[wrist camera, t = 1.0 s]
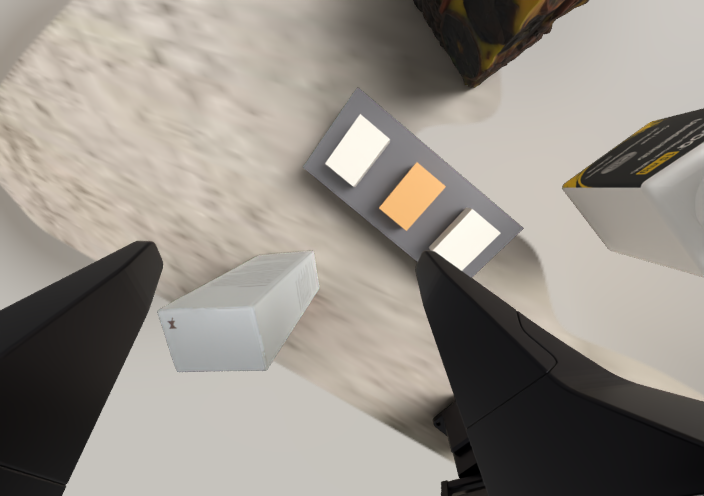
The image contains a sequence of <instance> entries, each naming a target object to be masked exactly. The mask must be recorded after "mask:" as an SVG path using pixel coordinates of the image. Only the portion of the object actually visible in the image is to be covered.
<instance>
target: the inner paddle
mask: <svg viewBox="0 0 704 496" xmlns="http://www.w3.org/2000/svg"><path fill="white" fill-rule="evenodd" d="M499 234H500V232H499V231H498V230H497V229H496V228H494V227H493V226H492V225H491V224H490V223H488V222H487V221H486V220H485V219H484V218H483V217H481V216H480V215H479V214H478V213H477V212H475V211H474V210H473V209H471V208H467V207H466V208H465V209H464V211H463V212H462V213H461V214H460V215H459V216H458V217H457V218H456V219H455V220H454V221H453V222H452V223H451V224H450V225H449V226H448V227H447V229H446V230H445V231H444V232H443V233H442V234H441V235H440V236H439V237H438V238H437V239H436V240H435V241H434V242H433V243H432V244H431V245H430V246H429V249H430V250H431V251H435V252H436V253H438V254H439V255H440V256H442V257H443V258H445V259H446V260H447V261H449V262H450V263H452V264H453V265H454V266H456V267H457V268H459V269H460V270H461V271H462V270H463V269H464V268H465V267H466V266H467V265H468V264H469V263H470V262H472V261H473V260H474V259H475V258H476V257H477V256H478V255H479V254H480V253H481V252H482V251H483V250H484V249H485V248H486V247H487V246H488V245H489V244H490V243H491V242H492V241H493V240H494V239H495V238H496V237H497V236H498V235H499Z"/></svg>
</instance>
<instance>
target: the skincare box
mask: <svg viewBox="0 0 704 496" xmlns="http://www.w3.org/2000/svg"><path fill="white" fill-rule="evenodd" d="M318 290H319V281H318V275H317V269H316V262H315V255H314V251H313V250H312V251H300V252H288V253H276V254H265V255H258V256H256V257H254V258H252V259H251V260H249V261H247V262H245V263H243V264H241V265H240V266H238V267H236V268H234V269H232V270H230V271H229V272H227V273H225V274H223V275H221V276H219V277H218V278H216V279H214V280H212V281H210V282H208V283H206V284H205V285H203V286H201V287H199V288H197V289H195V290H194V291H192V292H190V293H188V294H186V295H184V296H182V297H180V298H178V299H177V300H175V301H173V302H171V303H169V304H168V305H166V306H164V307H162V308H161V309H159V310H158V312H157V313H158V316H159V319H160V322H161V325H162V328H163V331H164V334H165V337H166V341H167V344H168V347H169V350H170V354H171V357H172V360H173V363H174V365H175V368H176V370H177V372H198V371H199V372H204V371H265V370H267V369H268V367H269V366H270V364H271V363H272V361H273V360H274V358H275V357H276V355H277V353H278V352H279V350H280V349H281V347H282V346H283V344H284V343H285V341H286V340H287V338H288V336H289V335H290V333H291V332H292V330H293V329H294V327H295V326H296V324H297V322H298V321H299V319H300V318H301V316H302V315H303V313H304V312H305V310H306V309H307V307H308V306H309V304H310V302H311V301H312V299H313V298H314V296H315V295H316V293H317V292H318Z"/></svg>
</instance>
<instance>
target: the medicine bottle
mask: <svg viewBox="0 0 704 496" xmlns="http://www.w3.org/2000/svg"><path fill="white" fill-rule="evenodd" d="M562 189H563V190H564V192H565V193H566V194H567V196H568V197H569V198H570V200H571V201H572V202H573V204H574V205H575V206H576V208H577V209H578V210H579V211H580V213H581V214H582V215H583V217H584V218H585V219H586V221H587V222H588V223H589V225H590V226H591V227H592V228H593V230H594V231H595V232H596V234H597V235H598V236H599V238H600V239H601V240H602V242H603V243H604V244H605V245H606V246H607V248H608V249H609V250H611V251H613V252H617V253H620V254H624V255H627V256H631V257H634V258H638V259H641V260H645V261H648V262H652V263H655V264H659V265H662V266H666V267H669V268H673V269H676V270H680V271H683V272H687V273H690V274H694V275H697V276H701V277H704V109H700V110H696V111H692V112H688V113H684V114H680V115H676V116H672V117H668V118H664V119H660V120H656V121H652V122H650V123H648V124H647V125H645V126H644V127H642V128H641V129H640V130H638V131H637V132H636V133H634V134H633V135H631V136H630V137H628V138H627V139H626V140H625V141H623V142H622V143H620V144H619V145H617V146H616V147H615V148H613V149H612V150H610V151H609V152H608V153H606V154H605V155H603V156H602V157H601V158H599V159H598V160H596V161H595V162H594V163H592V164H591V165H589V166H588V167H587V168H585V169H584V170H582V171H581V172H580V173H578V174H577V175H576V176H574V177H573V178H571V179H570V180H569V181H567V182H566V183H564V184H563V186H562Z"/></svg>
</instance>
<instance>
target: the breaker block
mask: <svg viewBox="0 0 704 496" xmlns="http://www.w3.org/2000/svg"><path fill="white" fill-rule="evenodd" d="M360 114H361V115H362V116H363V117H364V118H366V119H367V120H368V121H369V122H370V123H371V124H373V125H374V126H375V127H376V128H377V129H379V130H380V131H381V132H382V133H383V134H384V135H386V136H387V137H388V138H389V139H390V143H389V144H388V146H387V147H386V148H385V150H384V151H383V152H382V153H381V155H380V156H379V157H378V159H377V160H376V161H375V163H374V164H373V165H372V166H371V168H370V169H369V170H368V172H367V173H366V174H365V175H364V177H363V178H362V179H361V181H360V182H359V183H358V185H357V186H356V187H353V186H352V185H351V184H349V183H348V182H347V181H346V180H345V179H343V178H342V177H341V176H340V175H338V174H337V173H336V172H335V171H334V170H332V169H331V168H330V167H329V166H328V165H326V164H325V163H326V162H327V160H328V159H329V157H330V156H331V154H332V153H333V152H334V150H335V149H336V147H337V146H338V145H339V143H340V142H341V140H342V139H343V138H344V136H345V135H346V133H347V132H348V130H349V129H350V128H351V126H352V125H353V123H354V122H355V121H356V119H357V118H358V116H359V115H360ZM417 162H418V163H419V164H420V165H421V166H422V167H423V168H425V169H426V170H427V171H428V172H429V173H431V174H432V175H433V176H434V177H435V178H436V179H438V180H439V181H440V182H441V183H442V184H444V185H445V186H446V187H445V188H444V189H443V191H442V192H441V193H440V194H439V195H438V196H437V197H436V198H435V200H434V201H433V202H432V203H431V204H430V205H429V206H428V207H427V208H426V210H425V211H424V212H423V213H422V214H421V215H420V216H419V217H418V219H417V220H416V221H415V222H414V223H413V224H412V225H411V226H410V228H409V229H408V230H407V231H406V230H405V229H404V228H402V227H401V226H400V225H399V224H398V223H396V222H395V221H394V220H393V219H392V218H390V217H389V216H388V215H387V214H385V213H384V212H383V211H382V210H381V209H379V207H380V206H381V204H382V203H383V202H384V201H385V200H386V198H387V197H388V196H389V195H390V193H391V192H392V191H393V190H394V189H395V187H396V186H397V185H398V184H399V183H400V181H401V180H402V179H403V178H404V177H405V175H406V174H407V173H408V172H409V170H410V169H411V168H412V167H413V166H414V164H415V163H417ZM303 168H304V169H305V170H307V171H308V172H309V173H310V174H311V175H313V176H314V177H315V178H316V179H317V180H319V181H320V182H321V183H322V184H324V185H325V186H326V187H327V188H328V189H330V190H331V191H332V192H333V193H334V194H336V195H337V196H338V197H339V198H340V199H342V200H343V201H344V202H345V203H347V204H348V205H349V206H350V207H351V208H353V209H354V210H355V211H356V212H357V213H359V214H360V215H361V216H362V217H363V218H365V219H366V220H367V221H368V222H370V223H371V224H372V225H373V226H374V227H376V228H377V229H378V230H379V231H380V232H382V233H383V234H384V235H385V236H387V237H388V238H389V239H390V240H391V241H393V242H394V243H395V244H396V245H397V246H399V247H400V248H401V249H402V250H403V251H405V252H406V253H407V254H408V255H410V256H411V257H412V258H413V259H414V260H416V261H417V262H418V260H419V258H420V256H421V254H422V252H423V251H431V250H430V249H429V246H430V245H431V244H432V243H433V242H434V241H435V240H436V239H437V238H438V237H439V236H440V235H441V234H442V233H443V232H444V231H445V230H446V229H447V227H448V226H449V225H450V224H451V223H452V222H453V221H454V220H455V219H456V218H457V217H458V216H459V215H460V214H461V213H462V212H463V211H464V209H465V208H466V207H467V208H471V209H473V210H474V211H475V212H477V213H478V214H479V215H480V216H481V217H483V218H484V219H485V220H486V221H487V222H488V223H490V224H491V225H492V226H493V227H494V228H496V229H497V230H498V231H499V232H500V234H499V235H498V236H497V237H496V238H495V239H494V240H493V241H492V242H491V243H490V244H489V245H488V246H487V247H486V248H485V249H484V250H483V251H482V252H481V253H480V254H479V255H478V256H477V257H476V258H475V259H474V260H473V261H472V262H470V263H469V264H468V265H467V266H466V267H465V268H464V269H463V270H462V271H463V272H464V273H466V274H467V275H468V276H470V277H471V278H472V277H473V276H474V275H475V274H476V273H477V272H478V271H479V270H480V269H481V268H482V267H483V266H485V265H486V264H487V263H488V262H489V261H490V260H491V259H492V258H493V257H494V256H495V255H496V254H497V253H498V252H499V251H500V250H501V249H503V248H504V247H505V246H506V245H507V244H508V243H509V242H510V241H511V240H512V239H513V238H514V237H515V236H516V235H517V234H518V233H519V232H520V231H522V230H523V227H522V226H520V225H519V224H518V223H517V222H516V221H515V220H514V219H512V218H511V217H510V216H509V215H508V214H506V213H505V212H504V211H503V210H502V209H501V208H499V207H498V206H497V205H496V204H495V203H494V202H492V201H491V200H490V199H489V198H487V196H485V195H484V194H483V193H482V192H481V191H479V190H478V189H477V188H476V187H475V186H474V185H472V184H471V183H470V182H469V181H468V180H467V179H465V178H464V177H463V176H462V175H461V174H459V173H458V172H457V171H456V170H455V169H453V168H452V167H451V166H450V165H449V164H448V163H447V162H445V161H444V160H443V159H442V158H441V157H439V156H438V155H437V154H436V153H435V152H434V151H432V150H431V149H430V148H429V147H427V145H425V144H424V143H423V142H422V141H421V140H419V139H418V138H417V137H416V136H415V135H414V134H413V133H411V132H410V131H409V130H408V129H407V128H405V127H404V126H403V125H402V124H401V123H400V122H398V121H397V120H396V119H395V118H394V117H393V116H391V115H390V114H389V113H388V112H387V111H385V110H384V109H383V108H382V107H381V106H380V105H378V104H377V103H376V102H375V101H374V100H373V99H371V98H370V97H369V96H368V95H367V94H366V93H364V92H363V91H362V90H361V89H360V88H358V87H357V88H356V90H355V91H354V93H353V94H352V96H351V97H350V99H349V100H348V101H347V103H346V104H345V106H344V107H343V109H342V110H341V112H340V113H339V115H338V116H337V118H336V119H335V121H334V122H333V123H332V125H331V126H330V128H329V129H328V131H327V132H326V134H325V135H324V137H323V138H322V140H321V141H320V143H319V144H318V145H317V147H316V148H315V150H314V151H313V153H312V154H311V156H310V157H309V159H308V160H307V162H306V163H305V164H304V166H303Z"/></svg>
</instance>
